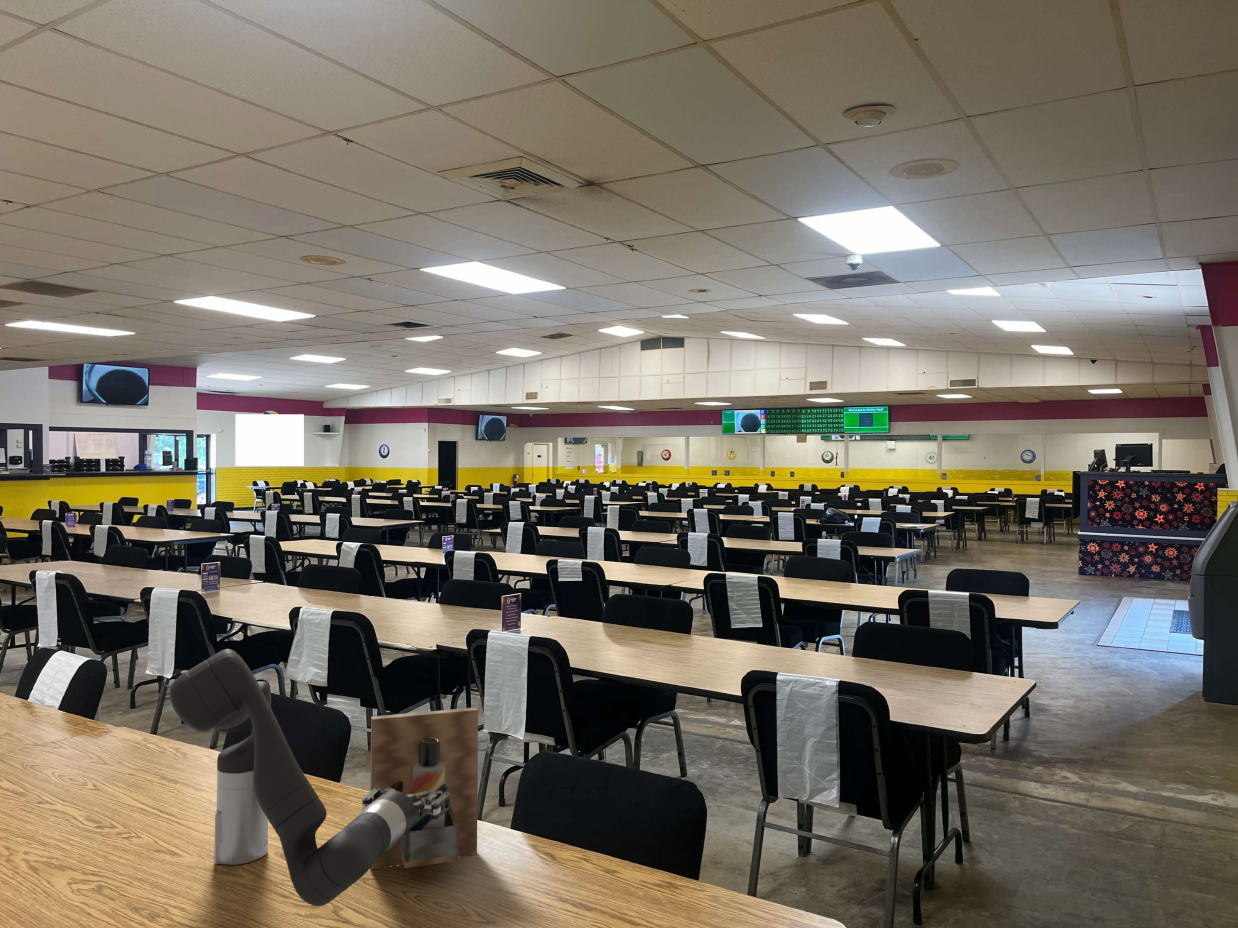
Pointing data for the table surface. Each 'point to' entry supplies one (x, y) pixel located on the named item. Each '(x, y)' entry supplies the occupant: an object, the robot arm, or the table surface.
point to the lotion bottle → (428, 779)
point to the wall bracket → (459, 754)
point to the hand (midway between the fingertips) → (423, 787)
